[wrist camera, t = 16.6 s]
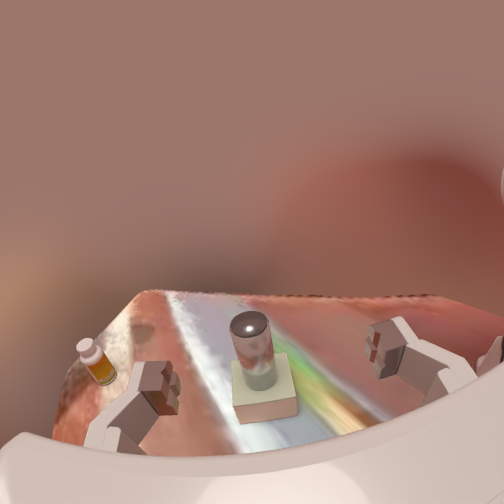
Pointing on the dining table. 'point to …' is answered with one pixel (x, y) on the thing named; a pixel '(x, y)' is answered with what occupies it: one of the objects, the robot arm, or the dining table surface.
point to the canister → (254, 349)
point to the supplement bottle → (96, 362)
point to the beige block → (264, 395)
